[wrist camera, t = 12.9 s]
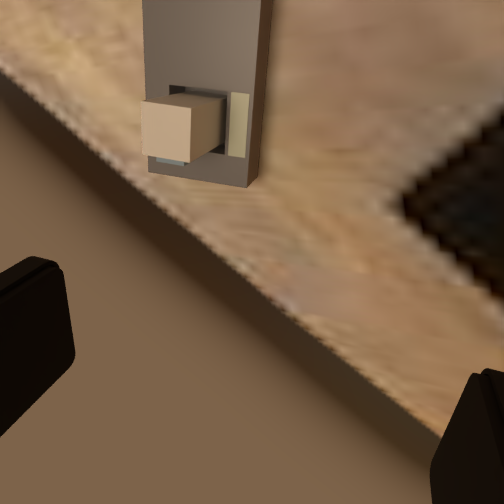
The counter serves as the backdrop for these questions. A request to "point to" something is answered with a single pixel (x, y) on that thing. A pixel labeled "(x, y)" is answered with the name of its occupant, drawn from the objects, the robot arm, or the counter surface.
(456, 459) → the robot arm
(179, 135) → the plug
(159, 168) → the socket block
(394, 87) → the counter surface
